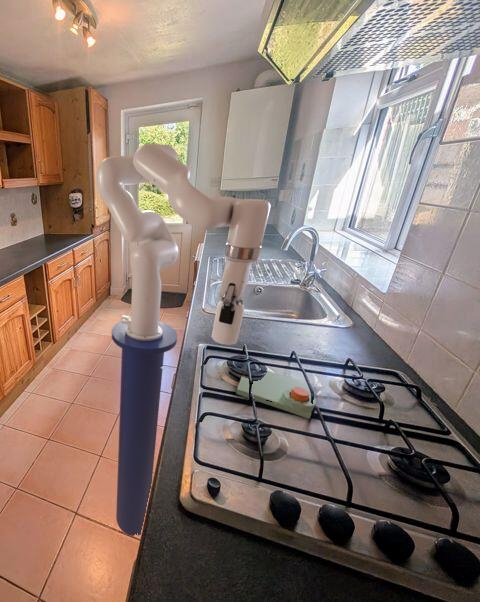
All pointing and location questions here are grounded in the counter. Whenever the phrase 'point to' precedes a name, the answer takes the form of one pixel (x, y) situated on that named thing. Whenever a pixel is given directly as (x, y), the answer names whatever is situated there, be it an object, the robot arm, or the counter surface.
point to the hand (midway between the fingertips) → (228, 317)
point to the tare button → (300, 394)
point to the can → (228, 325)
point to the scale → (278, 393)
